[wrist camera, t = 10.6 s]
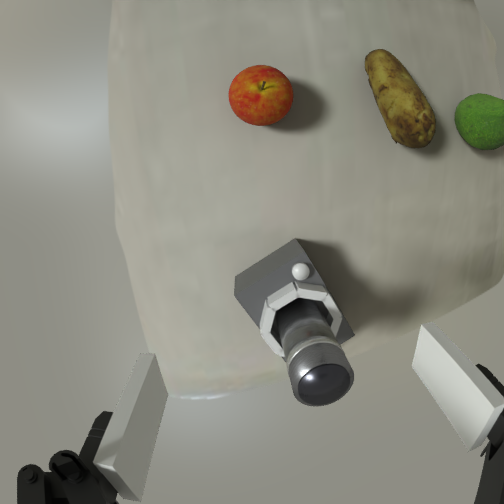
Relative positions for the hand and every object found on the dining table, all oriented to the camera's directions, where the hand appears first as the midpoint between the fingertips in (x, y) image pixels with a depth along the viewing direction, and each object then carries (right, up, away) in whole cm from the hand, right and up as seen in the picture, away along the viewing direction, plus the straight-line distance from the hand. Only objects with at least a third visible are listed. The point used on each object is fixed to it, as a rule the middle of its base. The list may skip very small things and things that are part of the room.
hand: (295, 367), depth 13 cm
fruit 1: (-1, +23, +20) cm, 31 cm away
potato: (+16, +25, +20) cm, 36 cm away
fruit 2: (+29, +25, +21) cm, 43 cm away
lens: (+3, -2, +21) cm, 21 cm away
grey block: (+3, 0, +26) cm, 27 cm away
